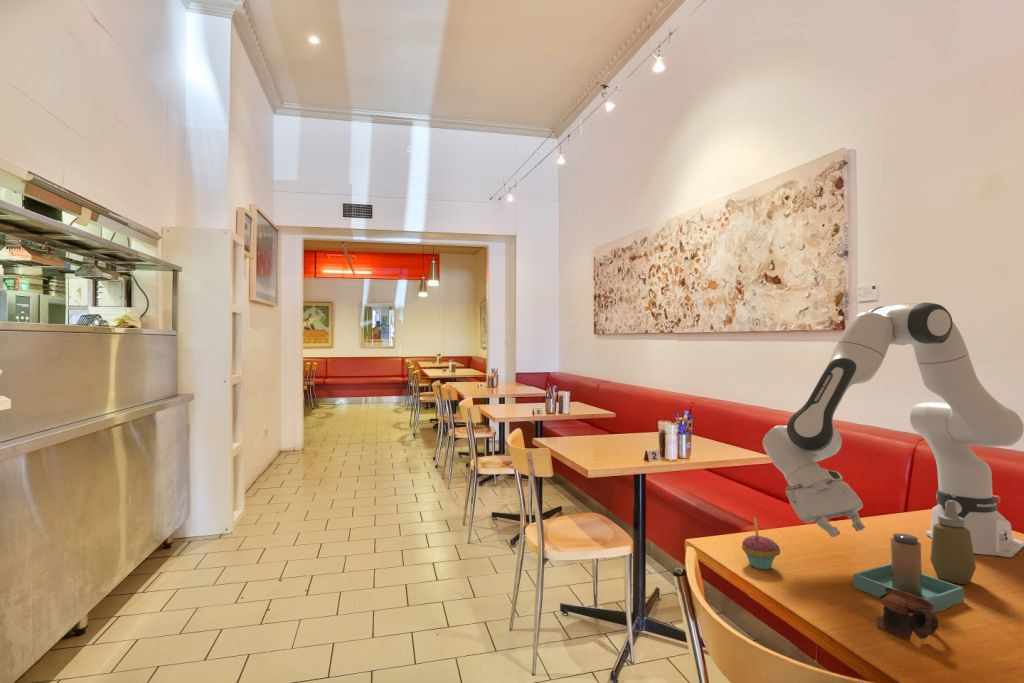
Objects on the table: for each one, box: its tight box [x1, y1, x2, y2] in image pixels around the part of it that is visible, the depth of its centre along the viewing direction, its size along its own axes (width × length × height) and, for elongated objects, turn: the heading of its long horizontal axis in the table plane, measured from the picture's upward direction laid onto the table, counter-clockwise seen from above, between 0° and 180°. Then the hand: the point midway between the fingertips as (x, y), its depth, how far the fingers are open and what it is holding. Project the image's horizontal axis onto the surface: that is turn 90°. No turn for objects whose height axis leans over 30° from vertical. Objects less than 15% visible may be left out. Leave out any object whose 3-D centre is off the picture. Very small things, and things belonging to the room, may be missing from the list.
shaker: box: [890, 533, 923, 597], centre depth 110 cm, size 5×5×12 cm
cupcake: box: [741, 514, 781, 570], centre depth 126 cm, size 9×8×12 cm
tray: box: [852, 562, 965, 614], centre depth 110 cm, size 14×14×3 cm
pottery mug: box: [876, 588, 939, 642], centre depth 95 cm, size 12×10×8 cm
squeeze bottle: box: [929, 501, 977, 585], centre depth 118 cm, size 8×8×18 cm
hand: (849, 532), depth 122 cm, fingers open, 8 cm apart
